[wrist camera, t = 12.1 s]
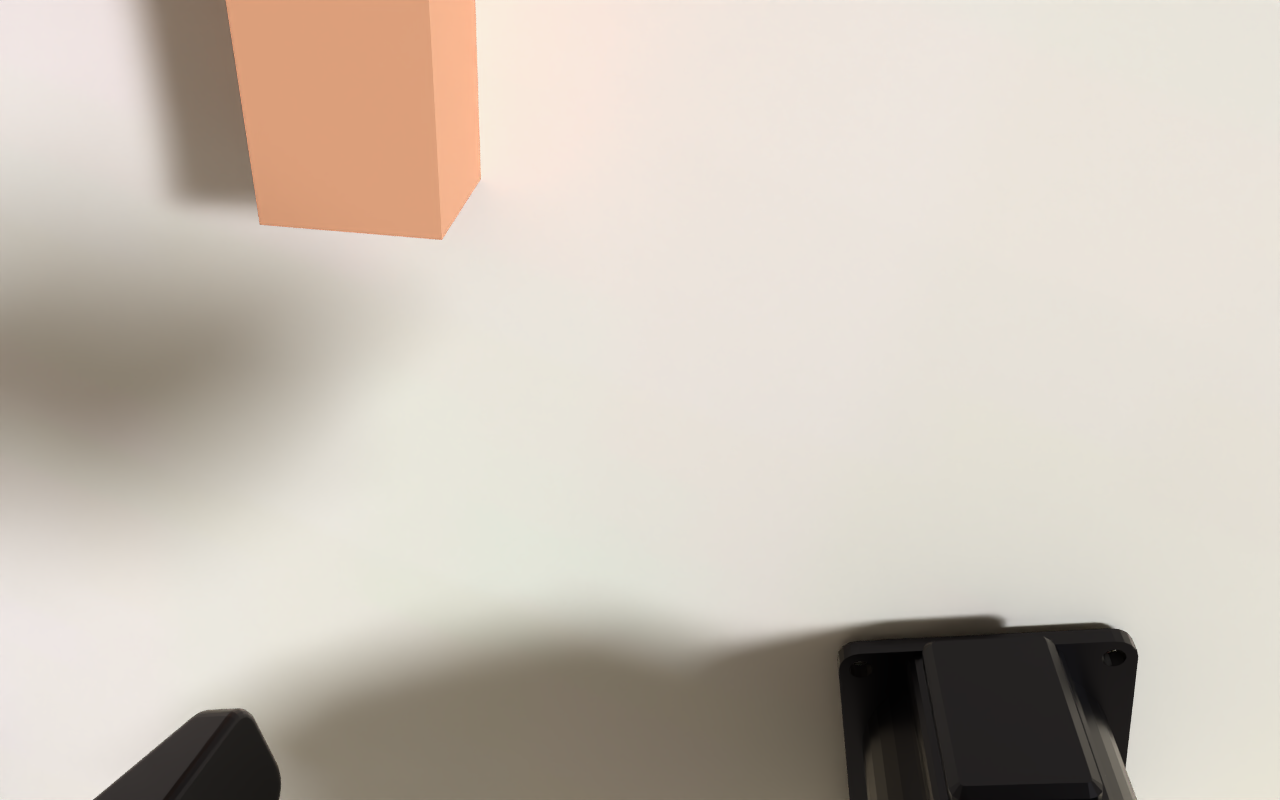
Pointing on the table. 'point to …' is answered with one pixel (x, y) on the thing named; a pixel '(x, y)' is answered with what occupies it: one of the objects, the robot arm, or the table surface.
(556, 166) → the table surface
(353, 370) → the table surface
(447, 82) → the salmon orange bar
